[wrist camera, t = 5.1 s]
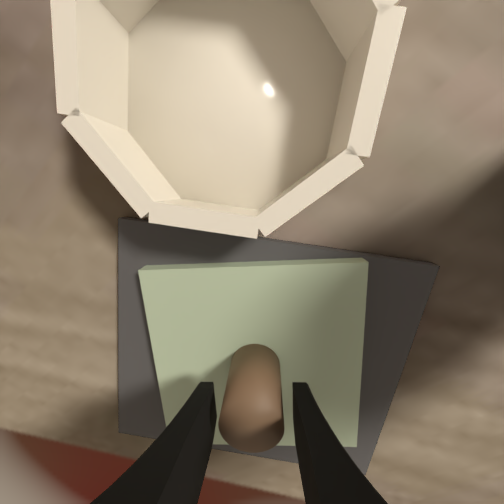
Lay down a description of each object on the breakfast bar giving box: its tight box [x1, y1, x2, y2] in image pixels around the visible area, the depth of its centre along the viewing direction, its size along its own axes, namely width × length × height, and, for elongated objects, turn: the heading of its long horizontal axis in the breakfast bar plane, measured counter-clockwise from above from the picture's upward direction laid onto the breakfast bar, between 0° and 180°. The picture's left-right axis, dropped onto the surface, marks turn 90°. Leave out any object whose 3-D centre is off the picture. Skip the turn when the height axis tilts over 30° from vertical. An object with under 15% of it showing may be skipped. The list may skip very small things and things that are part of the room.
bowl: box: [50, 0, 407, 239], centre depth 9 cm, size 11×11×4 cm
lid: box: [138, 258, 369, 453], centre depth 12 cm, size 11×11×4 cm
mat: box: [118, 217, 440, 475], centre depth 14 cm, size 16×14×1 cm
